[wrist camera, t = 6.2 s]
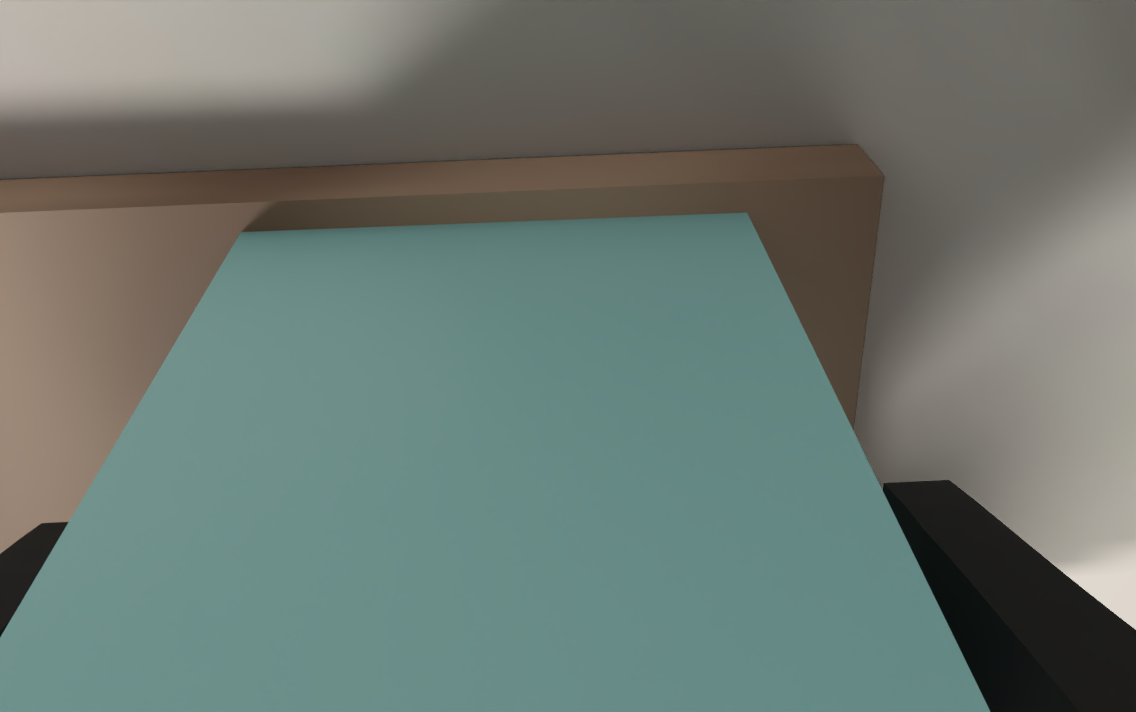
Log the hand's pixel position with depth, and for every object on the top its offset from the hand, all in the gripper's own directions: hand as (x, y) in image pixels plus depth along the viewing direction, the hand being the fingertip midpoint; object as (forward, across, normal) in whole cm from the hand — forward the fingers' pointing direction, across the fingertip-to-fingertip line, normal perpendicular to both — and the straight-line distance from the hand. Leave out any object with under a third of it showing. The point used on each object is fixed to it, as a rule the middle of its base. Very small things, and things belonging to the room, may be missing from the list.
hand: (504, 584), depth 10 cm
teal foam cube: (+2, 0, 0) cm, 3 cm away
